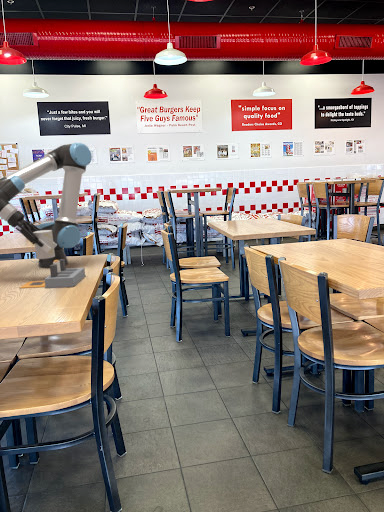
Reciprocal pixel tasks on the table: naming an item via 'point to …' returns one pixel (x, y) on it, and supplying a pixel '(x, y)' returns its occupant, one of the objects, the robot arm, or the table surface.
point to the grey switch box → (64, 276)
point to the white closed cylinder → (47, 239)
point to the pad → (34, 284)
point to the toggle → (57, 265)
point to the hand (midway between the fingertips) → (52, 248)
